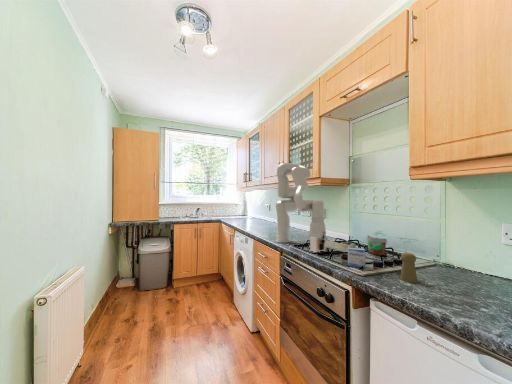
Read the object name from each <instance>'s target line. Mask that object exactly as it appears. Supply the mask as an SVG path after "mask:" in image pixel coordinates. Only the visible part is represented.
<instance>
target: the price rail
mask: <svg viewBox="0 0 512 384" xmlns="http://www.w3.org/2000/svg"><path fill="white" fill-rule="evenodd" d="M348 248H356V243H350V244H345V243H340V242H338V241H337V242H336V241H331V240H328V239H327V240H326V241H325V249H330V250H335V251H339V252H342V253H345V252H348Z"/></svg>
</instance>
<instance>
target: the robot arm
mask: <svg viewBox="0 0 512 384" xmlns="http://www.w3.org/2000/svg"><path fill="white" fill-rule="evenodd" d="M276 175H277V176H276V177H277V194H278V195H277V196H278V198H280V199H283V200H278V201H277V202H276V203H275V209H276V217H277V218H276V219H277V221H276V226H277V227H276V230H277V234H276V235H275V238H276V239H275V240H274V241H275V242H277V243H282V244H283V243H286V244H288V243H291V242H292V241H293V240H292V239H291V238H290V237H291V236H290V235H291V234H290V233H291V232H290V230H291V229H290V227H291V226H290V225H291V222H290V220H291V219H290V215H289V214H288V213H294V212H296V211H297V210H298V211H300V212H303V213H304V212H311V218H310V219H311V221H310V226H309V235H308V236H309V238H310V237H315V238H318V239H319V240H320V244H319V250H324V243H325V241H326V240H328V236H327V234H326V233H327V230H326V224H325V203H324V201H323V200H315V199H304V198H303V195H302V192H303V191H305V190H306V189H307V188H309V183H308V181H307V180H308V179H309V178H310V177H311V170H310V169H309V168H308V167H307V166H303V165H300V164H298V163H287V162H283V163H281V164H278V166H277V170H276ZM287 175H289V176H291V177H292V181H293V183H294V185H295V187H294V186H293V185H292V186H291V185H290V180H289V177H288V176H287ZM321 239H322V240H321Z"/></svg>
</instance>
